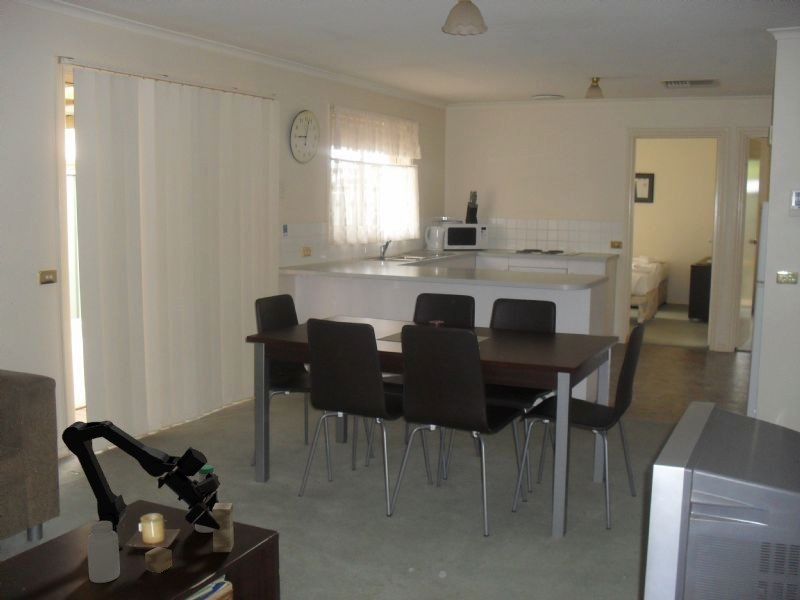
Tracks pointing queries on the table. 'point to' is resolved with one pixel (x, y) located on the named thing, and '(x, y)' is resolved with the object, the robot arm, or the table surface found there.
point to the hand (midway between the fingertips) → (222, 522)
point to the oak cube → (158, 559)
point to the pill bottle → (103, 553)
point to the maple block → (223, 527)
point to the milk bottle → (202, 474)
